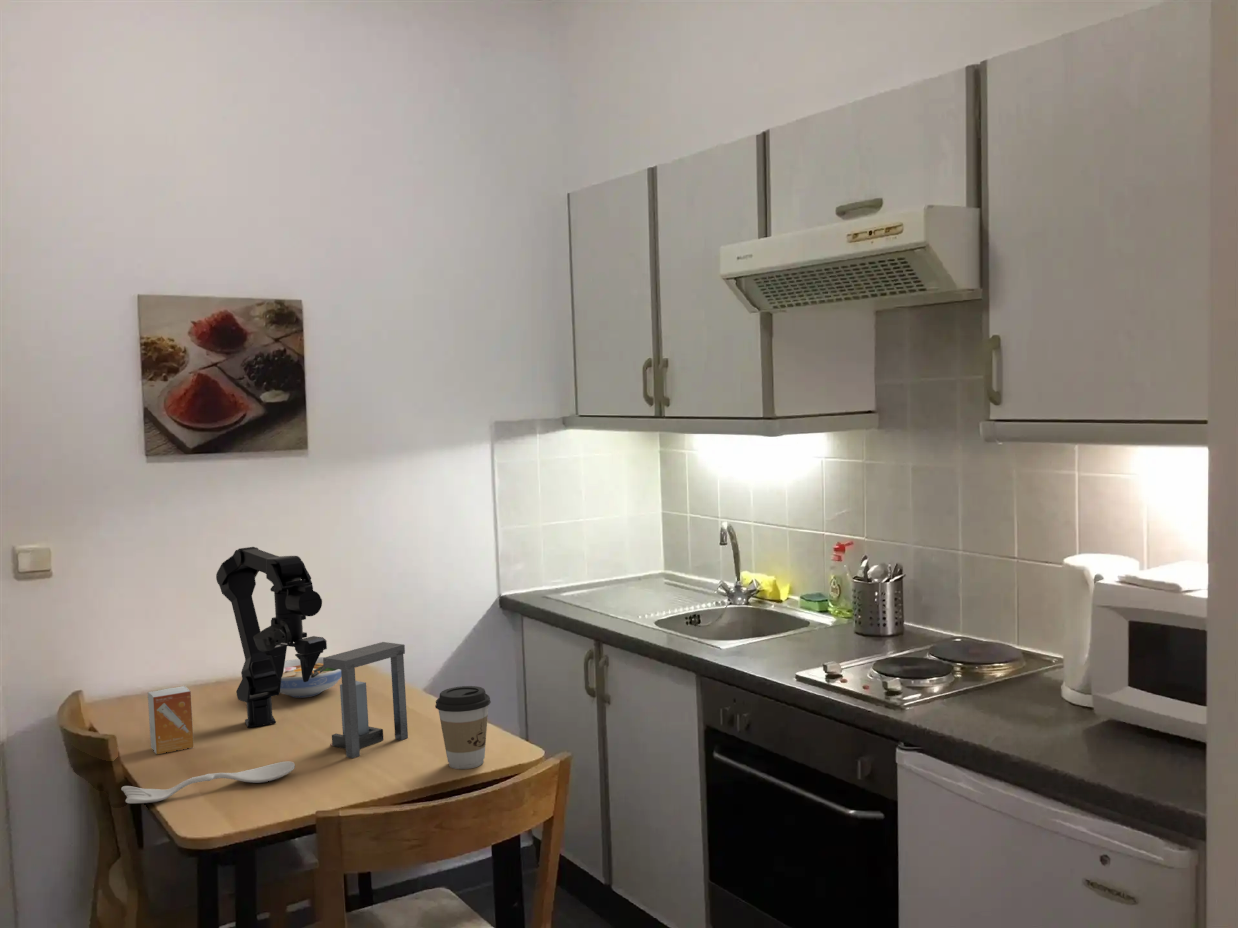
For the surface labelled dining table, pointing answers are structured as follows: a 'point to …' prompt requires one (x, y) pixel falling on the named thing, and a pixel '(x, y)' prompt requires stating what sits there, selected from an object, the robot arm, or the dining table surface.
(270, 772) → the spoon
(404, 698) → the overhang seat
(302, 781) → the dining table surface
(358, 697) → the blue-grey rectangular block
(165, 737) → the small box
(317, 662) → the ramen bowl
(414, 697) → the dining table surface
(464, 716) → the coffee cup
